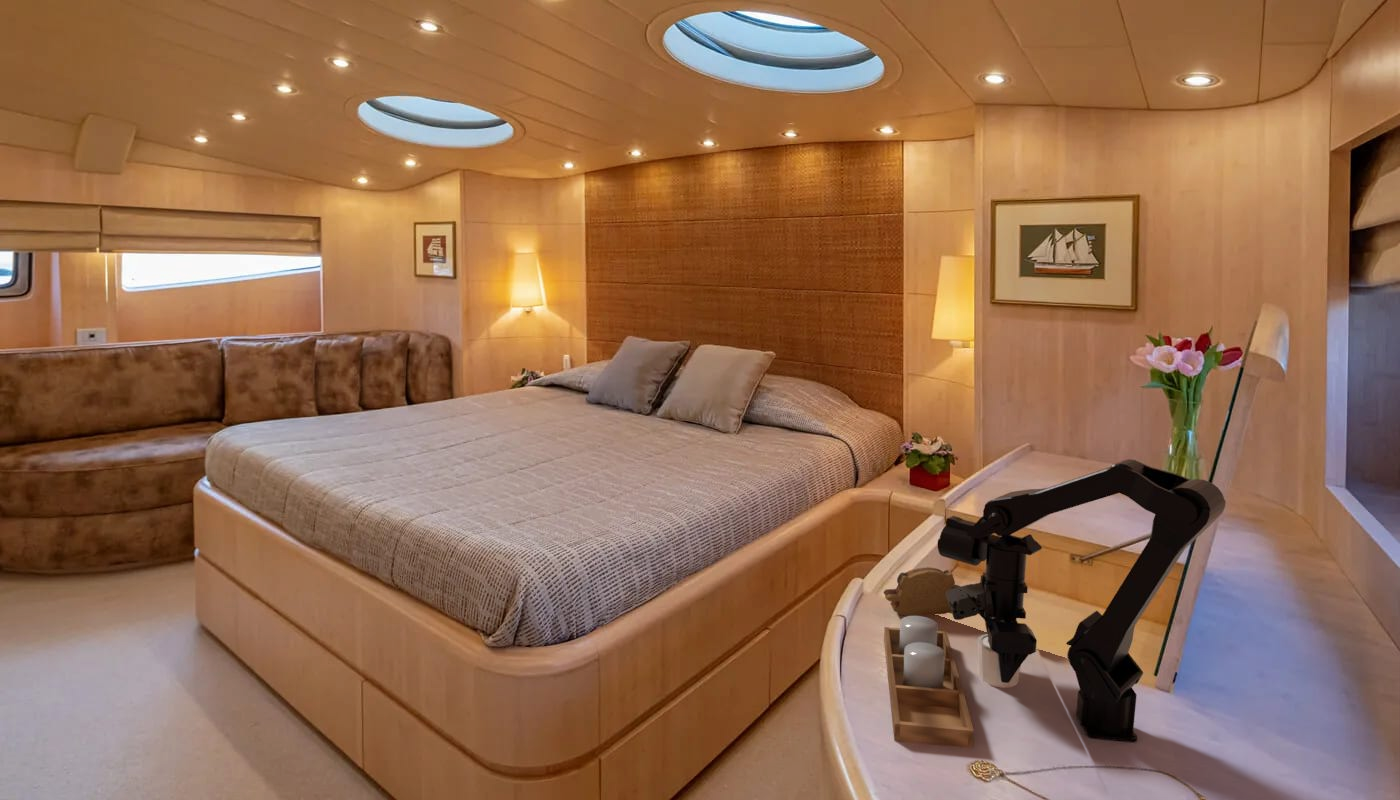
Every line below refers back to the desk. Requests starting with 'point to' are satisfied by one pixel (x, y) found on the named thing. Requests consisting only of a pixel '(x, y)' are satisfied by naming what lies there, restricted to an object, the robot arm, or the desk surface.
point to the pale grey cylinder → (917, 631)
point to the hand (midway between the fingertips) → (999, 667)
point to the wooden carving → (921, 592)
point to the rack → (927, 701)
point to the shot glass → (991, 665)
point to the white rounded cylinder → (923, 665)
